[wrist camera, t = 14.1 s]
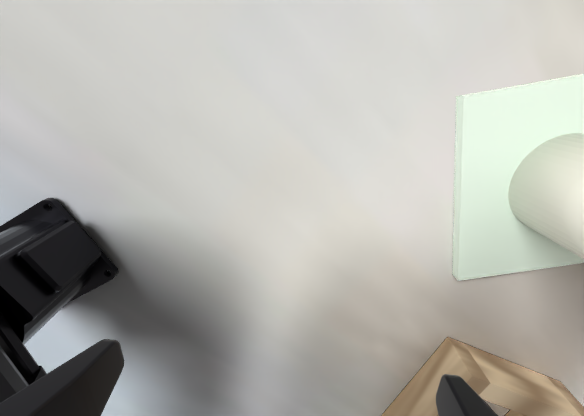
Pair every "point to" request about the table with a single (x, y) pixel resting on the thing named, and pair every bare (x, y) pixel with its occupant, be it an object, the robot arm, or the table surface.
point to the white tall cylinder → (552, 191)
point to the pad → (506, 174)
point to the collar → (485, 385)
